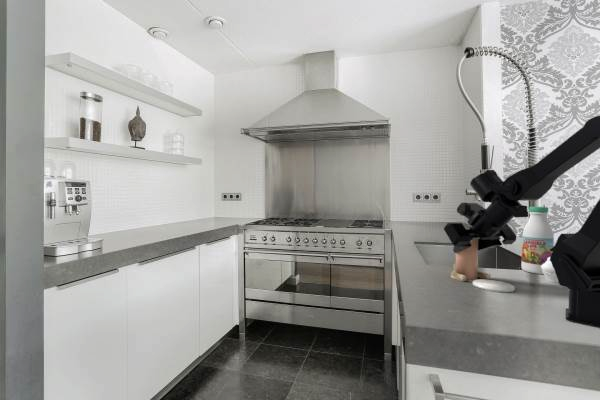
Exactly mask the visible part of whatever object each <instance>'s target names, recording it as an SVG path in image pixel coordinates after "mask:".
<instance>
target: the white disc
mask: <svg viewBox="0 0 600 400" xmlns="http://www.w3.org/2000/svg"><path fill="white" fill-rule="evenodd" d="M472 286H474V287H476V288H477V289H478V288H479V289H482V290H485V291H490V292H494V293H495V292H496V293H513V292H515V290H516V289H515V286H514V285H512V284H510V283H507V282H504V281H499V280H493V279H490V280H486V279H483V278H479V279H478V278H477V279H476V280H472Z"/></svg>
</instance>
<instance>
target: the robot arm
mask: <svg viewBox="0 0 600 400" xmlns="http://www.w3.org/2000/svg"><path fill="white" fill-rule="evenodd" d="M599 149H600V115H597V116H594V117H591V118H590V119H588V120H586V122H585V123H584V125H583V126H582V127H581V128H579V129H578V130H577V131H576V132H575V133H573V134H572V135H571V136H569V137H568V138H567V139H566V140H564V141H563V142H562V143H560V144H559V145H558V146H557V147H556V148H554V149H553V150H552V151H550V152H549V153H548V154H547V155H546V156H544V157H542V159H541V160H539V161H538V162H537V163H535V164H533V165H531V166H528V167H525V168H523V169H519V170H518V171H517V172H515V173H513V174H511V175H509V176H508V177H507V178H505V179H504V181H503V180H502V179H501V177H500V176H499V175H498V172H496V170H494V169H486V171H484V172H483V173H480V174H478V175H476V176H475V177H473V178H472V179H471V181H470V187H471V188H472V190H473V191H474V192H475V194H476V195H477V196H478V197H479V198H480V201H482V202H484V203H490V204H489V205H488V206H487V207H486V208H485V207H483V206H482V205H480V204H479V203H474V202H461V203H460V204H458V206H457V208H456V213H458V214H459V215H460V216H463V217H464V218H466V220H467V223H468V225H469V226H470V227H469V228H468V229H467V228H466V227H465V226H464V224H463V223H462V222H447V224H445V226H444V228H443V230H444V232H445V233H446V235H447V237H448V239H449V241H450V243H451V244H452V245H453V249H452V250H453V253H455V254H456V253H457V252H460V251H462V250H464V249H467V248H469V247H471V246H472V245H471V244H470V241H472V240H473V239H478V252H479V251H484V250H488V249H491V248H496V247H501V246H502V245H513V244H514V243H515V242H516V241H517V234H516V233H515V232H514V231H513V230H512V228H511V227H510V225H509V224H508V223H510V221H512V220H513V218H528V217H530V214H529V210H528V206H527V205H523V204H522V203H521V202H520V201H527V202H528V201H531V202H532V201H538V200H540V199H541V198H543V197H544V195H546V194H547V193H548V192H549V190H551V189H552V188H553V186H554V182H555V181H556V180H557V179H558V178H559V177H561V176H562V175H564V174H565V173H566V172H568V171H569V170H570V169H572V168H573V167H575V166H576V165H577V164H579V163H581V162H582V161H583V160H585V159H586V158H588V157H590V155H592V154H594V153H595V152H596V151H598V150H599ZM501 237H502V238H503V239H502V240H501ZM550 251H553V252H552V254H551V257H550V261H551V262H552V266H553V268H554V269H555V272H556V275H557V279H558V282H559V283H558V284H559V285H560V286H562V287H566V288H567V289H568V308H565V320H566V321H569V322H575V323H580V324H584V325H588V326H589V325H590V326H593V327H598V328H600V198H599V199H598V201H597V202H596V204H595V205H594V207H593V209H592V210H591V211H590V213H589V215H588V216H587V218H586V220H585V221H584V223H583V224H582V226H581V227H580V229H579V230H578V231H576V232H575V233H574V232H573V233H560V235H559V236H558V237H557V240H556V242H555V243H554V247H553V248H551V249H550Z"/></svg>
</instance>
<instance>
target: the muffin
mask: <svg viewBox="0 0 600 400" xmlns="http://www.w3.org/2000/svg"><path fill="white" fill-rule="evenodd" d="M541 269H542V270H543V271H542V272H543V274H542V275H544V277H545V279H546V281H548V282H551V283H554V284H556V283H557V284H559V282H558V279H557V275H556V272H555V269H554V268H553V266H552V262H551V261H550V257H549V258H547V261H546V262H545V263H544V264H542V265H541Z"/></svg>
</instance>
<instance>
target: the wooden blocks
mask: <svg viewBox="0 0 600 400" xmlns="http://www.w3.org/2000/svg"><path fill="white" fill-rule="evenodd" d="M452 264H453V265H452V271H450V278H452V279H454V280H457V281H460V282H463V283H464V282H466V280H467V279H466V276H465V275H462V274H459V273H456V272H455V269H456V262H454V263H452ZM477 278H479V279H486V280H491V274H490V273H487V272H484V271H480V270H478V275H477Z"/></svg>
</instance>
